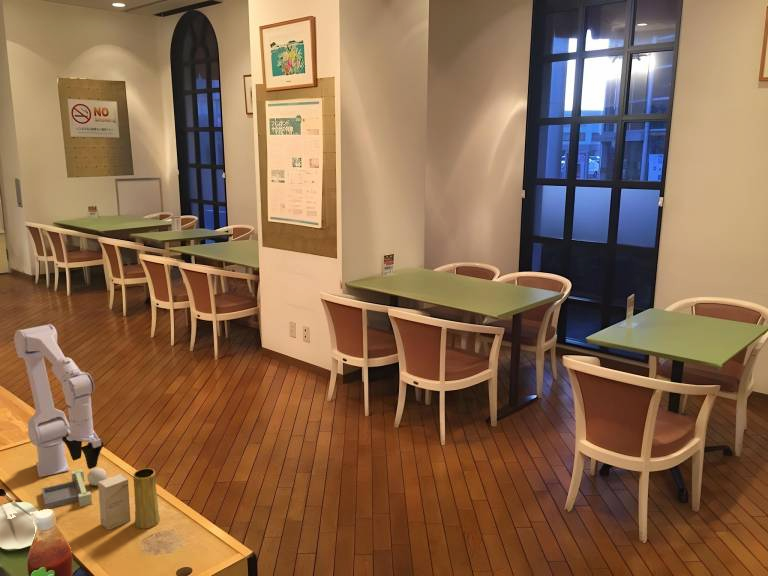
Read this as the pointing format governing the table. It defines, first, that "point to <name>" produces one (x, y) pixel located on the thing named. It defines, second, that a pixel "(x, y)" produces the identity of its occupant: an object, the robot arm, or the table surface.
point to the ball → (96, 476)
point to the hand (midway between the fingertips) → (84, 463)
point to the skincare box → (114, 501)
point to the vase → (145, 499)
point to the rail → (81, 488)
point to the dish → (61, 494)
